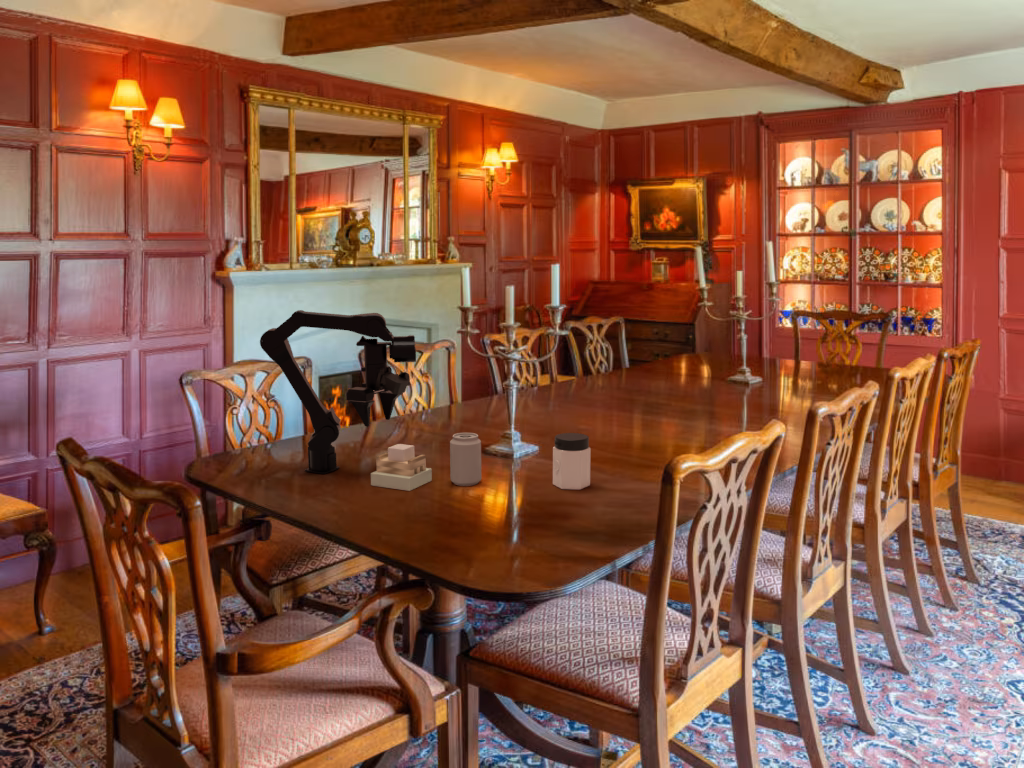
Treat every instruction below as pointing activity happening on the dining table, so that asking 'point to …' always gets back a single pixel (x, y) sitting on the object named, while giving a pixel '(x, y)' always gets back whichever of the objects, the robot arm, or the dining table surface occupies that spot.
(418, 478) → the dock
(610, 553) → the dining table surface
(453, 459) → the can
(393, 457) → the pale pink square block
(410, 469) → the castle tower
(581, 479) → the jar
